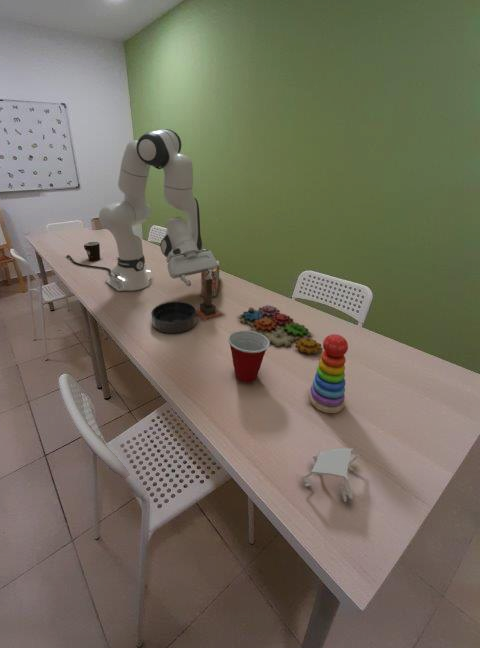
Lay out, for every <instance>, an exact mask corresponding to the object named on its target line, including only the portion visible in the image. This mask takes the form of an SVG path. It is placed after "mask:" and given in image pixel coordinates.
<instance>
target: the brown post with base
mask: <svg viewBox="0 0 480 648" xmlns="http://www.w3.org/2000/svg"><path fill="white" fill-rule="evenodd" d="M202 298H203V299H202V300H203V301H202V303H199V308H200V311H201V312H203V313H204V314H205V315H206V316H208V315H211V314H214V313H216V310H217V309H216V308H217V307H216V305H214V304H213V297H212V279H211V278H210V277H205V278H203V297H202Z"/></svg>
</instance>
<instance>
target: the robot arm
mask: <svg viewBox="0 0 480 648" xmlns="http://www.w3.org/2000/svg"><path fill="white" fill-rule="evenodd" d="M181 151H182V140H181V137H180V136H179V134H178V133H177V132H176V131H174V130H172V129H168V128H166V129H155V130H152V131H147V132H145V133H144V134H142V135H141V136H140V137H139V139H134V140H130V141H128V143H127V144H126V147H125V149H124V152H123V155H122V158H121V163H120V169H119V176H118V181H117V186H118V189H119V190H120V192H121V193H123V194H124V198H123V200H122V201H118V202H111V203H108V204H107V205H105V206H103V207H101V209H100V210H99V213H98V219H99V222H100V224H101V226H102V227H103V228H104V229H106V230H107V231H108V232H110V234H112V236H113V238H114V240H115V242H116V247H117V255H118V257H116V258H115V259H116V261H117V264H116V265H115V266H114V267H113V268H108V267H104V266H96V265H90V264H83V263H79V262H77V261H75V260H74V259H73V257H72V256H71V255H70V254H67V255H66V258H69V259H70V260H71V261H72V263H73V264H74V265H77V266H81V267H88V268H94V269H101V270H107V271H108V273H109V276H110V277H109V278H108V279H107V280H106V283H107V284H108V286H110V287H112V288H113V289H115V291H117V292H125V291H139V290H143V289H146V288H148V286H150V280H151V277H150V276H149V273H151V270H149V269H148V268H147V264H145V263H146V259H145V255H144V251H143V250H144V249H143V241H142V238H141V237H140V236H139V235H137V234H135V232H134V231H133V227H134V226H138V225H141V224H143V223H145V222H146V221H148V220H149V219H150V217H151V215H152V209H151V206H150V203H148V202H147V200H146V199H147V198H146V188H147V182H148V177H149V174H150V168H151V167H153V168H155V169H157V170H162V171H163V176H164V177H163V198H164V200H165V201H166V203H167V204H168V205H169V206H170V207H172V208H174V209H176V210H178V211H181V212H184V213H186V216H187V221H186V220H185V219H184V218H183V217H181V216H175V217H170V218H169V219H167V220H166V222H165V229H166V231H165V236H164V237H163V238H162V239H161V241H160V243H159V246H160V247H159V248H160V250H161V253H162V255H163V256H164V257H165V258H166V259H165V260H166V262H167V266H166V267H167V271H168V274H169V277H170V278H171V279H178V278H179V279H180V281H182V282H183V283H184V284H185V286H186V287H190V286H191V285H192V282H191V280H190V279H187V276H192V275H197V274H201V272H207V274H208V276H207V277H210V278H211V279H212V276H211V273H212V270H214V269H215V268H216V267H217V265H218V264H217V261H218V260H217V259H216V258H215V256H214V253H213V252H212V250H210V249H207V248H204V249H202V248H203V240H202V235H201V218H200V216H201V215H200V205H199V202H198V200H197V198H196V197H194V193H193V186H194V185H193V184H194V170H193V169H194V167H193V162H192V159H191V158H190V157H189V156H188V155H186V154H183V153H181ZM148 272H149V273H148Z"/></svg>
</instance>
